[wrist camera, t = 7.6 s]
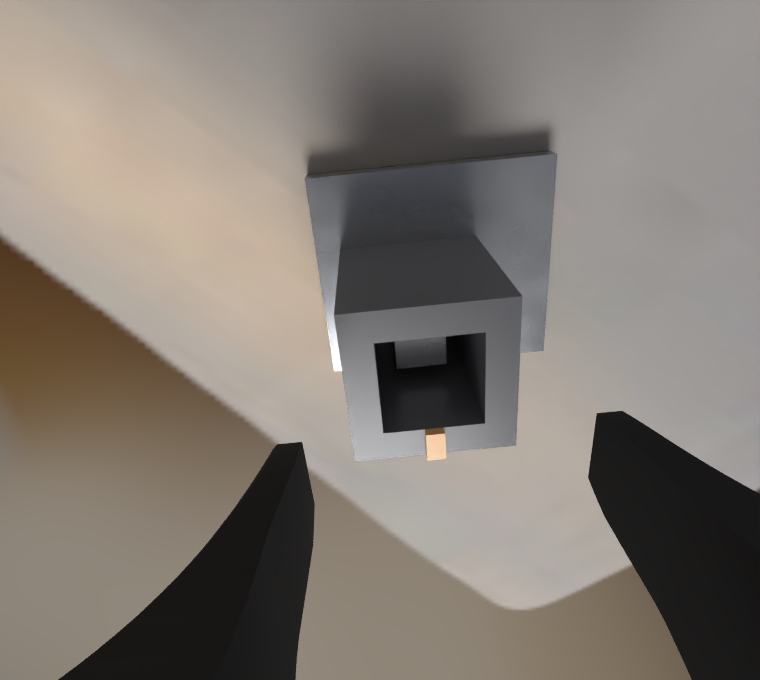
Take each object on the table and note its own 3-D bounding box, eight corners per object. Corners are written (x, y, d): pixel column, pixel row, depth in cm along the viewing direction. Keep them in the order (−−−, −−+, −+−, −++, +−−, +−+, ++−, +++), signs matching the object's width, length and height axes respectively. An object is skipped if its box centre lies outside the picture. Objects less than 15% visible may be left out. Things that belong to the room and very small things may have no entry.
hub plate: (549, 151, 19) (556, 153, 18) (537, 342, 22) (543, 350, 22) (306, 175, 19) (304, 178, 18) (334, 362, 22) (334, 371, 22)
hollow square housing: (476, 236, 19) (525, 300, 14) (476, 355, 22) (518, 451, 16) (339, 249, 19) (333, 319, 14) (355, 366, 22) (355, 467, 16)
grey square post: (430, 280, 21) (445, 319, 17) (432, 319, 22) (446, 364, 18) (387, 284, 21) (393, 324, 17) (390, 323, 22) (396, 369, 18)
